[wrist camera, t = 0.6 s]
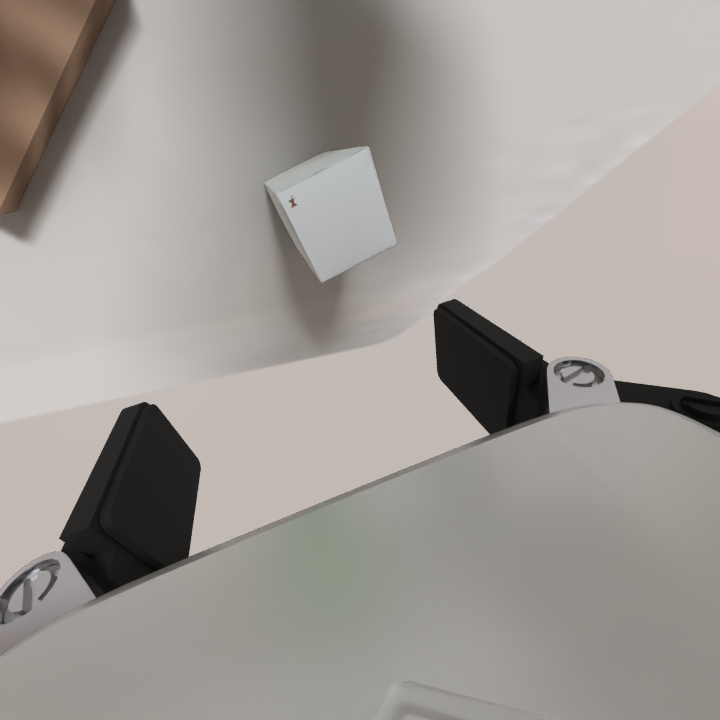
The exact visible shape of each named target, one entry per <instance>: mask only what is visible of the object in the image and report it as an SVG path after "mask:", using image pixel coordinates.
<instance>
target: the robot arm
mask: <svg viewBox="0 0 720 720" xmlns="http://www.w3.org/2000/svg"><path fill="white" fill-rule="evenodd" d="M434 326H435V342H436V357H437V371H438V375H439V377H440V379H441V381H442V382H443V383H444V384H445V385H446V386H447V387H448V388H449V389H450V390H451V392H452V393H453V394H454V395H455V396H456V397H457V398H458V399H459V400H460V402H461V403H462V404H463V405H464V406H465V407H466V408H467V409H468V411H470V413H471V414H472V415H473V416H474V417H475V418H476V419H477V420H478V422H479V423H480V424H481V425H482V426H483V427H484V428H485V429H486V430H487V431H488V433H489V434H490V435H488V436H486V437H483V438H481V439H478V440H475V441H473V442H470V443H468V444H465V445H463V446H460V447H458V448H455V449H453V450H450V451H448V452H445V453H443V454H440V455H438V456H435V457H433V458H430V459H428V460H425V461H423V462H420V463H418V464H415V465H413V466H410V467H408V468H405V469H403V470H401V471H398V472H396V473H393V474H390V475H388V476H386V477H384V478H381V479H378V480H376V481H374V482H371V483H368V484H366V485H363V486H361V487H358V488H356V489H354V490H351V491H349V492H346V493H344V494H341V495H339V496H336V497H334V498H331V499H329V500H327V501H324V502H322V503H319V504H317V505H314V506H312V507H309V508H307V509H304V510H302V511H300V512H297V513H295V514H292V515H290V516H287V517H285V518H283V519H280V520H278V521H275V522H273V523H271V524H268V525H266V526H263V527H261V528H258V529H256V530H253V531H251V532H248V533H246V534H244V535H241V536H239V537H236V538H234V539H231V540H229V541H227V542H224V543H222V544H219V545H217V546H215V547H212V548H210V549H207V550H205V551H202V552H200V553H198V554H195V555H193V556H190V557H189V550H190V542H191V535H192V528H193V521H194V513H195V506H196V499H197V492H198V484H199V477H200V470H201V468H200V462H199V460H198V458H197V457H196V456H195V454H194V453H193V452H192V451H191V449H190V448H189V447H188V445H187V444H186V443H185V441H184V440H183V439H182V438H181V436H180V435H179V434H178V433H177V431H176V430H175V429H174V427H173V426H172V425H171V423H170V422H169V421H168V420H167V418H166V417H165V416H164V414H163V413H162V412H161V411H160V409H159V408H158V407H157V406H156V405H154V404H152V405H150V404H148V403H146V402H143V403H140V404H137V405H134V406H131V407H128V408H125V409H123V410H122V411H121V413H120V415H119V417H118V419H117V421H116V423H115V426H114V427H113V429H112V431H111V433H110V435H109V438H108V440H107V442H106V444H105V446H104V448H103V450H102V452H101V454H100V456H99V458H98V460H97V462H96V464H95V466H94V468H93V470H92V472H91V474H90V476H89V479H88V481H87V483H86V485H85V487H84V489H83V491H82V493H81V495H80V497H79V499H78V501H77V503H76V505H75V507H74V509H73V511H72V514H71V515H70V517H69V520H68V521H67V523H66V526H65V528H64V530H63V532H62V534H61V536H60V538H59V539H61V540H62V541H64V542H65V543H64V546H63V548H62V550H61V552H51V553H48V554H45V555H42V556H40V557H38V558H36V559H35V560H33V561H31V562H30V563H28V564H27V565H26V566H24V567H23V568H21V569H20V570H19V571H18V572H17V573H15V574H14V575H13V576H12V577H11V578H10V579H9V580H8V581H7V582H6V583H5V584H4V585H3V586H2V588H1V589H0V720H720V398H719V397H716V396H713V395H710V394H707V393H702V392H697V391H691V390H683V389H676V388H668V387H660V386H653V385H645V384H637V383H629V382H622V381H614V380H613V376H612V374H611V373H610V371H609V370H608V369H607V368H606V367H604V366H603V365H601V364H599V363H598V362H595V361H593V360H590V359H586V358H581V357H563V358H558V359H556V360H554V361H552V362H551V363H550V364H549V363H547V362H546V361H544V360H543V355H541V354H540V353H538V352H536V351H535V350H533V349H532V348H530V347H529V346H527V345H525V344H524V343H523V342H521V341H519V340H518V339H516V338H515V337H513V336H512V335H510V334H509V333H507V332H506V331H504V330H502V329H501V328H499V327H498V326H496V325H495V324H493V323H491V322H490V321H489V320H487V319H485V318H484V317H482V316H481V315H479V314H478V313H476V312H475V311H473V310H472V309H470V308H469V307H467V306H465V305H464V304H462V303H461V302H459V301H458V300H456V299H453V300H450V301H447V302H444V303H441V304H439V305H438V307H437V309H436V310H435V311H434Z"/></svg>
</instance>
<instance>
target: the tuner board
mask: <svg viewBox="0 0 720 720" xmlns="http://www.w3.org/2000/svg"><path fill="white" fill-rule="evenodd" d="M114 1H115V0H0V214H5V213H10V212H14V211H16V209H17V207H18V205H19V203H20V201H21V198H22V196H23V194H24V192H25V190H26V188H27V186H28V184H29V181H30V179H31V177H32V175H33V173H34V171H35V169H36V167H37V165H38V162H39V160H40V158H41V156H42V154H43V152H44V150H45V148H46V145H47V143H48V141H49V139H50V137H51V135H52V133H53V131H54V129H55V126H56V124H57V122H58V120H59V118H60V116H61V114H62V112H63V109H64V107H65V105H66V103H67V101H68V99H69V97H70V95H71V93H72V90H73V88H74V86H75V84H76V82H77V80H78V78H79V76H80V73H81V71H82V69H83V67H84V65H85V63H86V61H87V59H88V57H89V54H90V52H91V50H92V48H93V46H94V44H95V42H96V40H97V37H98V35H99V33H100V31H101V29H102V27H103V25H104V23H105V21H106V18H107V16H108V14H109V12H110V10H111V8H112V6H113V4H114Z"/></svg>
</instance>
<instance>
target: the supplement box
mask: <svg viewBox="0 0 720 720" xmlns="http://www.w3.org/2000/svg"><path fill="white" fill-rule="evenodd" d="M264 185H265V187H266V189H267V191H268V193H269V195H270V197H271V199H272V201H273V203H274V205H275V207H276V210H277V212H278V214H279V216H280V218H281V219H282V221H283V223H284V225H285V227H286V229H287V231H288V233H289V235H290V237H291V238H292V240H293V242H294V244H295V246H296V248H297V249H298V250H299V252H300V253H301V255H302V256H303V258H304V259H305V260H306V262H307V263H308V265H309V266H310V268H311V269H312V271H313V272H314V274H315V275H316V276H317V278H318V279H319V281H320V282H321V283H323V282H325V281H327V280H329V279H331V278H333V277H335V276H337V275H339V274H341V273H343V272H345V271H346V270H348V269H350V268H352V267H354V266H356V265H358V264H360V263H362V262H364V261H366V260H367V259H369V258H371V257H373V256H375V255H377V254H379V253H381V252H382V251H384V250H386V249H388V248H390V247H392V246H394V245H396V244H397V240H396V237H395V234H394V231H393V228H392V225H391V221H390V218H389V215H388V211H387V208H386V204H385V201H384V197H383V194H382V190H381V187H380V183H379V180H378V176H377V173H376V169H375V166H374V162H373V159H372V155H371V151H370V148H369V147H355V148H348V149H342V150H335V151H326V152H323V153H321V154H319V155H317V156H315V157H313V158H311V159H308V160H306V161H304V162H302V163H300V164H298V165H296V166H294V167H292V168H290V169H288V170H287V171H285V172H283V173H281V174H279V175H277V176H275V177H273V178H271V179H270V180H268V181H266V182H264Z"/></svg>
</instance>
